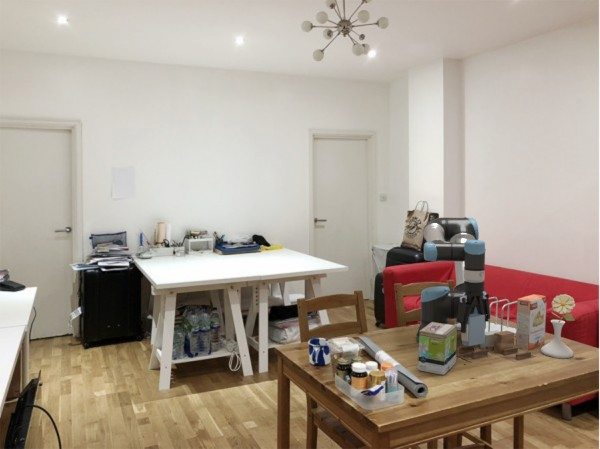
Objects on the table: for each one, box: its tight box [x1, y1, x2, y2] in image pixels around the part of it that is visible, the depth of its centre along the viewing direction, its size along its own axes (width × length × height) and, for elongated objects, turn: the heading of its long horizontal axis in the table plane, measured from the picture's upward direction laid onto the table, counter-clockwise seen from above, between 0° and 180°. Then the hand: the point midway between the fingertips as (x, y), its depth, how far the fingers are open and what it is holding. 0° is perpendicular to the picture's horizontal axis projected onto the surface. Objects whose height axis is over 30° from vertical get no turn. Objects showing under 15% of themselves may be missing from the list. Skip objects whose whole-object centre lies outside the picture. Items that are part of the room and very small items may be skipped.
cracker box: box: [515, 293, 547, 351], centre depth 205 cm, size 14×6×21 cm, turn 130°
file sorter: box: [453, 296, 517, 338], centre depth 228 cm, size 25×17×16 cm
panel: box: [461, 313, 485, 346], centre depth 193 cm, size 4×8×11 cm, turn 117°
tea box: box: [417, 322, 458, 376], centre depth 184 cm, size 15×10×15 cm, turn 148°
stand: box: [456, 345, 491, 363], centre depth 194 cm, size 8×10×4 cm
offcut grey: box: [480, 330, 501, 349], centre depth 203 cm, size 4×9×6 cm, turn 117°
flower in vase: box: [540, 293, 576, 359], centre depth 193 cm, size 13×11×25 cm
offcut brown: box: [494, 331, 515, 354], centre depth 197 cm, size 4×7×8 cm, turn 117°
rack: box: [474, 344, 537, 363], centre depth 198 cm, size 20×12×3 cm, turn 27°
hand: (473, 338), depth 194 cm, fingers closed on panel, 8 cm apart
